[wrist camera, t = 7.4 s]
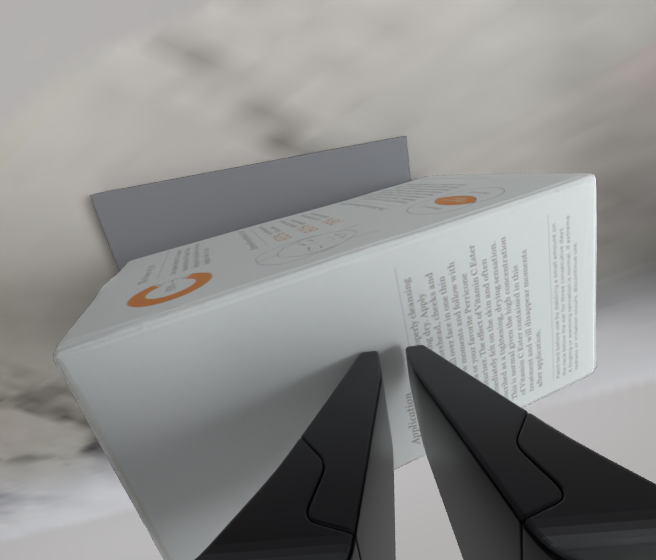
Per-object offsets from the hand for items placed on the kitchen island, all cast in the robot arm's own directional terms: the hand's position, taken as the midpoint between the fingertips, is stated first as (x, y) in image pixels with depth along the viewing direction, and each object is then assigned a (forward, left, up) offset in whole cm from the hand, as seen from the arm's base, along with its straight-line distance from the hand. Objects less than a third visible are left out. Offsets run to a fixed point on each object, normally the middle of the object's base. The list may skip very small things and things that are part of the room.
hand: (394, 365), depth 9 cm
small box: (-5, 0, -7) cm, 8 cm away
